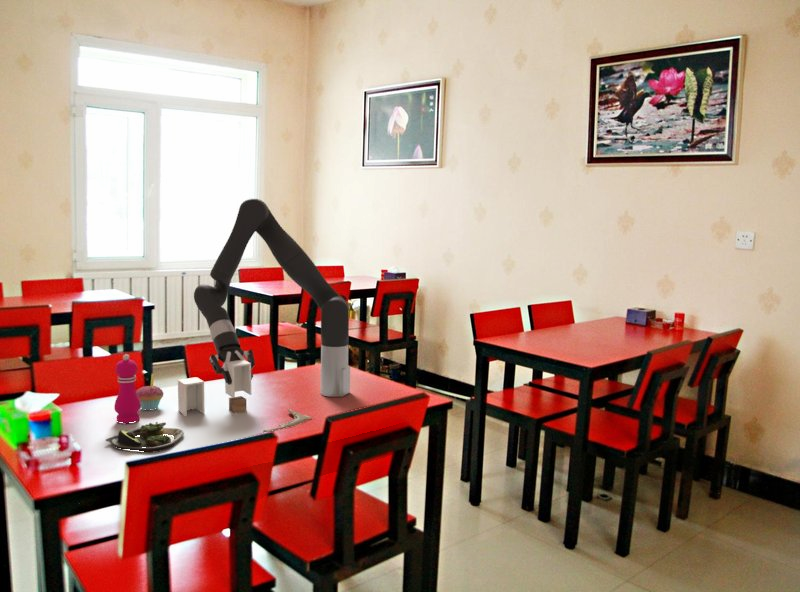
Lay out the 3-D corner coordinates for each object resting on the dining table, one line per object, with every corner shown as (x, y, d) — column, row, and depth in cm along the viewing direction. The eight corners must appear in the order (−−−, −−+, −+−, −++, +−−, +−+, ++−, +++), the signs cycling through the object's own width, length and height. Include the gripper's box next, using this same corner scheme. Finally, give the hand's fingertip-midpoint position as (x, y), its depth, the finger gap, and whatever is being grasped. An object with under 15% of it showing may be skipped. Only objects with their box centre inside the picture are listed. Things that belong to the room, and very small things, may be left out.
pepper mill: (146, 418, 206) (144, 353, 203) (129, 426, 199) (127, 358, 196) (126, 415, 208) (124, 350, 205) (109, 422, 201) (107, 355, 198)
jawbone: (315, 418, 214) (316, 412, 213) (291, 441, 194) (292, 434, 194) (288, 413, 215) (288, 407, 215) (261, 435, 196) (262, 429, 195)
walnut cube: (229, 410, 216) (229, 397, 216) (241, 408, 219) (241, 395, 218) (234, 413, 213) (234, 401, 212) (246, 411, 215) (246, 399, 215)
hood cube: (225, 393, 216) (224, 361, 214) (243, 390, 219) (242, 359, 218) (233, 397, 211) (232, 365, 210) (251, 394, 215) (250, 363, 213)
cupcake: (169, 407, 217) (168, 369, 216) (149, 414, 210) (148, 376, 208) (149, 403, 221) (148, 366, 219) (128, 410, 213) (127, 372, 212)
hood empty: (178, 411, 214) (177, 379, 212) (197, 408, 217) (196, 377, 216) (185, 416, 209) (184, 384, 207) (204, 413, 212) (204, 381, 211)
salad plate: (138, 426, 200) (138, 411, 199) (196, 431, 197) (196, 415, 196) (98, 450, 181) (98, 433, 181) (161, 456, 178) (161, 439, 178)
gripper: (205, 333, 214) (221, 378, 206) (248, 328, 223) (265, 371, 215) (199, 346, 219) (215, 391, 211) (242, 341, 228) (258, 384, 220)
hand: (240, 381), depth 213 cm, fingers closed on hood cube, 6 cm apart
